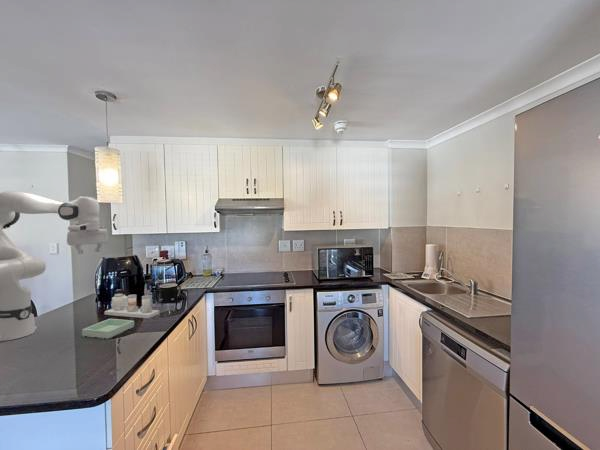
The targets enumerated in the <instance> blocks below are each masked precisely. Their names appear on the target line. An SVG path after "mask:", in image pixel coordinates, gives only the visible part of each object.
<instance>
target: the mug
mask: <svg viewBox="0 0 600 450" xmlns="http://www.w3.org/2000/svg"><path fill="white" fill-rule="evenodd" d="M158 287H159V288H158V289H156V290H155V291H154V298H155V301H156V302H161V303H163V304H170V303H174V302H176V300H177V299H178V297H180V296H181V293H182V286H181V285H180V284H177V283H164V284H160V285H159V286H158ZM159 298H160V299H159Z"/></svg>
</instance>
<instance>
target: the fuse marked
mask: <svg viewBox="0 0 600 450" xmlns="http://www.w3.org/2000/svg"><path fill="white" fill-rule="evenodd" d="M127 297H128V312H134V311H135V307H136V306H137V294H128V295H127Z"/></svg>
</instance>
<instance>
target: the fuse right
mask: <svg viewBox="0 0 600 450" xmlns="http://www.w3.org/2000/svg"><path fill="white" fill-rule="evenodd" d="M141 307H142V313H149V308H150V307H151V295H149V294H144V295H142V296H141Z"/></svg>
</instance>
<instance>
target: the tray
mask: <svg viewBox="0 0 600 450" xmlns="http://www.w3.org/2000/svg"><path fill="white" fill-rule="evenodd" d="M133 328H135V320H132V319H131V320H130V319H121V318H120V319H118V318H108V319H105V320H102V321H100V322H97V323H95V324H93V325H89V326H88V327H84V328H83V329H81V337H85V336H87V338H94V337H97V338H96V339H104V338H106V340H107V339H108V340H110V339H112V338H113V337H114V338H115V337H116V336H118V335H121V334H123V333H124V331H125V332H127V331H129V330H130V329H133ZM128 329H129V330H128ZM126 330H127V331H126ZM109 338H110V339H109Z"/></svg>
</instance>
